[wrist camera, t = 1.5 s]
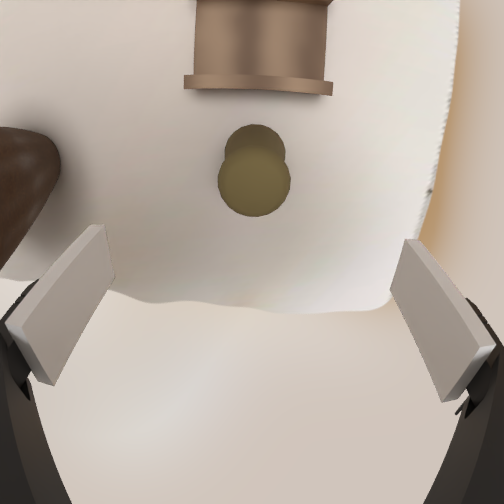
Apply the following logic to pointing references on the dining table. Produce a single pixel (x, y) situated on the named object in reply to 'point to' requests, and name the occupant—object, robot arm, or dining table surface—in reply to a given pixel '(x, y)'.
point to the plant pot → (23, 183)
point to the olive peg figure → (254, 171)
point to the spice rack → (261, 45)
